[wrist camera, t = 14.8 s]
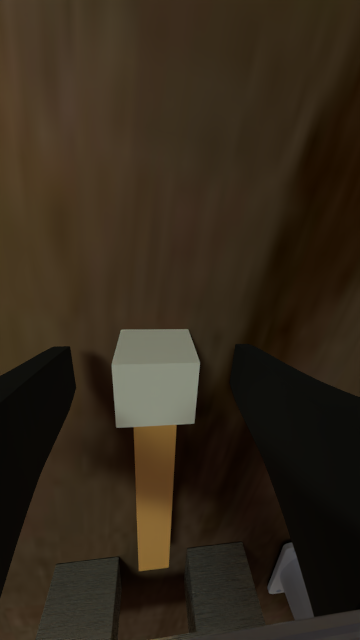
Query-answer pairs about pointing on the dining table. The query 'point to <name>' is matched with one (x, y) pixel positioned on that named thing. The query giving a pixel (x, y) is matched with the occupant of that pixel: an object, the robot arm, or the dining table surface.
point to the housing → (105, 590)
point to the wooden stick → (154, 424)
